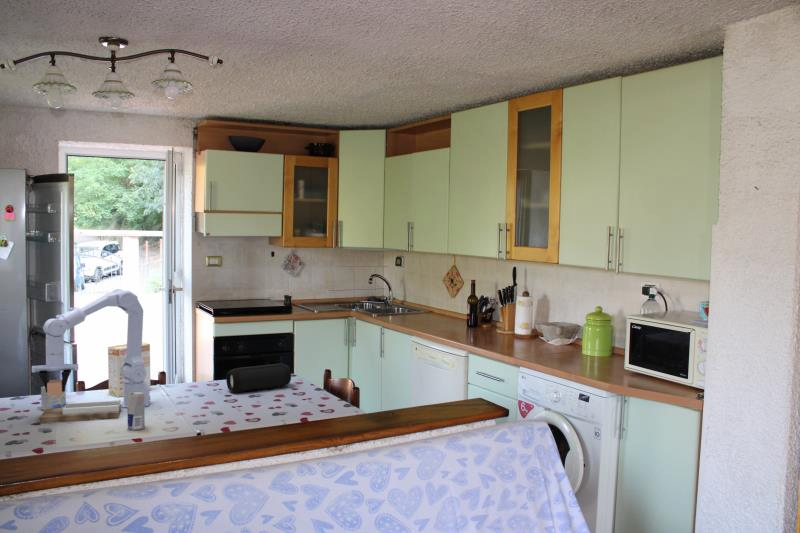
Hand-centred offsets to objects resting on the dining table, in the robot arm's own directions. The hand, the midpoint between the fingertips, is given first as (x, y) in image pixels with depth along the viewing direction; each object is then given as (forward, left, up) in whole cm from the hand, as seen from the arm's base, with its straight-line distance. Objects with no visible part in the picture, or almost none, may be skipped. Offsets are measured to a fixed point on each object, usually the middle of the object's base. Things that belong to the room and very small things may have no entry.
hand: (55, 391), depth 242 cm
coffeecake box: (-22, -33, -10) cm, 41 cm away
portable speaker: (-73, -26, -10) cm, 78 cm away
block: (0, 0, -1) cm, 1 cm away
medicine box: (+3, -15, -10) cm, 18 cm away
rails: (-12, 0, -7) cm, 14 cm away
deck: (-8, 0, -9) cm, 12 cm away
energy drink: (-28, +20, -10) cm, 35 cm away
